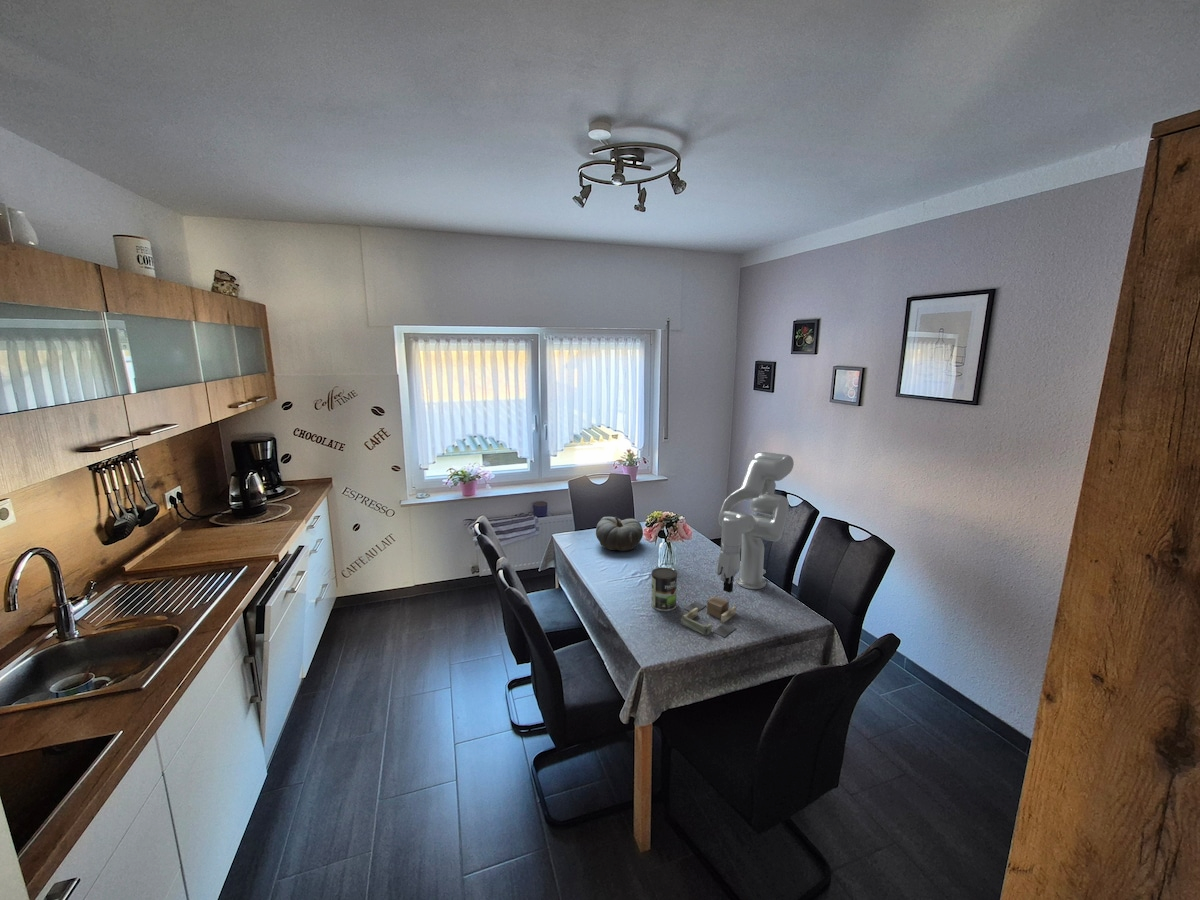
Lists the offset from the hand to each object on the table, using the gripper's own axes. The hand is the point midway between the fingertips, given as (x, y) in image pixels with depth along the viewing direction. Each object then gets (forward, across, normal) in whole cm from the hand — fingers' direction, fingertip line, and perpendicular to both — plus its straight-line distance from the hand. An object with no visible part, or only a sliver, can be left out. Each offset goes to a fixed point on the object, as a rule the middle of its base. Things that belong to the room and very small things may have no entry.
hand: (727, 590), depth 192 cm
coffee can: (+8, +17, -19) cm, 27 cm away
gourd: (+6, -15, -74) cm, 76 cm away
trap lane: (+7, +13, 0) cm, 15 cm away
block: (+7, +7, 0) cm, 10 cm away
